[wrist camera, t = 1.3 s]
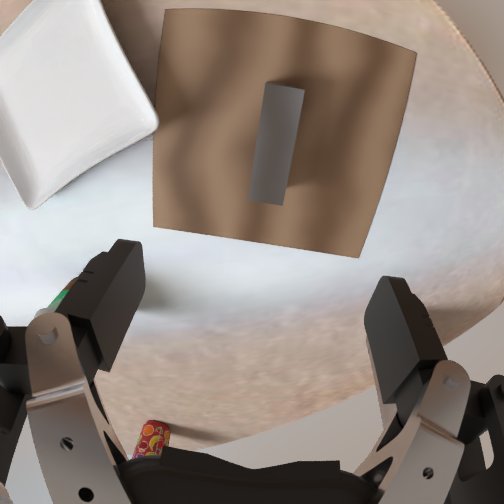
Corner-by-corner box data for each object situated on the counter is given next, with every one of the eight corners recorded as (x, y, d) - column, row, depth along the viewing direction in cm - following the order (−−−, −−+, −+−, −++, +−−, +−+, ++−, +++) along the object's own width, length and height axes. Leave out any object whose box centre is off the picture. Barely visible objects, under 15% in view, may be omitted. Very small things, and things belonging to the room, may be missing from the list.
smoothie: (170, 434, 67) (155, 502, 50) (139, 424, 65) (121, 491, 49) (178, 425, 62) (162, 500, 46) (144, 414, 61) (123, 488, 44)
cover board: (413, 53, 21) (436, 52, 17) (356, 254, 34) (366, 280, 30) (168, 10, 21) (148, 2, 17) (155, 223, 34) (140, 246, 30)
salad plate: (-17, 76, 22) (-35, 81, 19) (97, -38, 16) (80, -44, 14) (43, 203, 32) (28, 215, 30) (175, 120, 27) (164, 127, 24)
